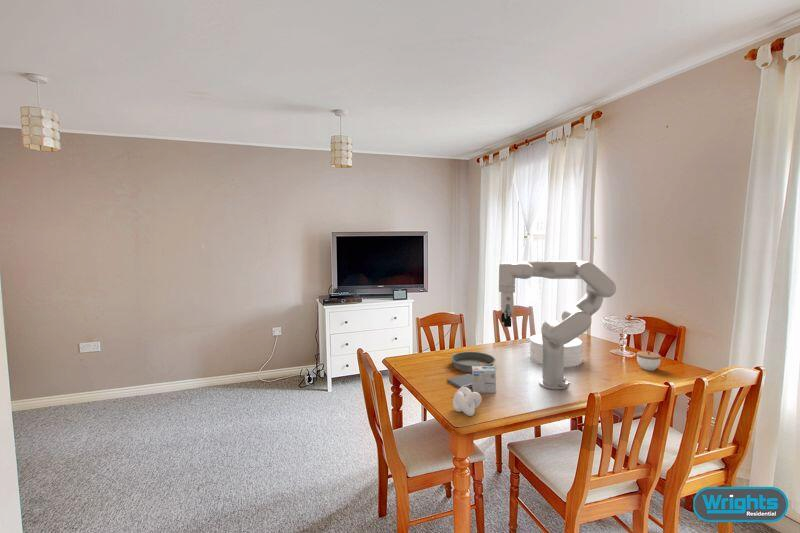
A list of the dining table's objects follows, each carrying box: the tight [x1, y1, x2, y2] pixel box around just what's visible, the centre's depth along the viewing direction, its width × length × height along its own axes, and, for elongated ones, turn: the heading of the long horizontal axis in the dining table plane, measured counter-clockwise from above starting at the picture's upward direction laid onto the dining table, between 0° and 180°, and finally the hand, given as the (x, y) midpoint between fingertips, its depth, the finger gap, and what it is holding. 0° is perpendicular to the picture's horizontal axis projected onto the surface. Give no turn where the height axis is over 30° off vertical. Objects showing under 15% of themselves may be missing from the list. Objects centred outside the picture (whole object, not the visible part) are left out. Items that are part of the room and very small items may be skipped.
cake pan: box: [450, 351, 496, 373], centre depth 212 cm, size 25×25×4 cm
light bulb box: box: [471, 365, 497, 394], centre depth 178 cm, size 11×7×11 cm, turn 84°
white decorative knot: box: [452, 387, 482, 417], centre depth 157 cm, size 11×12×9 cm
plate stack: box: [529, 333, 583, 368], centre depth 220 cm, size 28×28×12 cm
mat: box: [446, 373, 472, 389], centre depth 188 cm, size 12×14×1 cm
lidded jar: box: [636, 350, 662, 371], centre depth 201 cm, size 11×11×9 cm
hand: (506, 324), depth 181 cm, fingers open, 9 cm apart
